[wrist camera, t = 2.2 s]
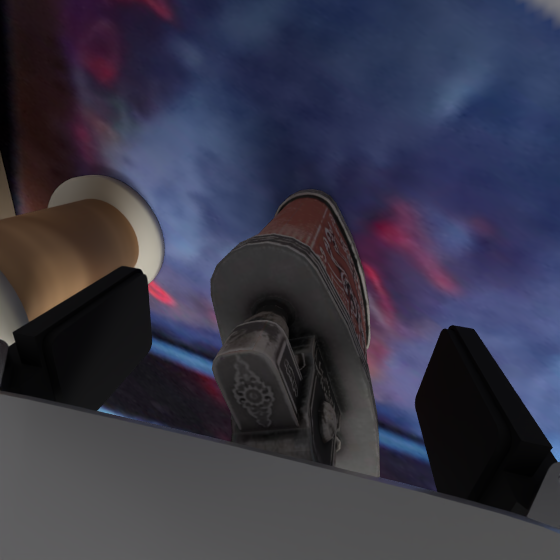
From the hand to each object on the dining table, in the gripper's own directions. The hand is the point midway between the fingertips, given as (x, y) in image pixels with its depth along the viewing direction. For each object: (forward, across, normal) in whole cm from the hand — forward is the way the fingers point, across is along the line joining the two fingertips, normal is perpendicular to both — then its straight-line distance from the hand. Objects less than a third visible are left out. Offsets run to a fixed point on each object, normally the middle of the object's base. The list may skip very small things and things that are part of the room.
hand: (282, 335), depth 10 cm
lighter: (+5, -1, 0) cm, 6 cm away
